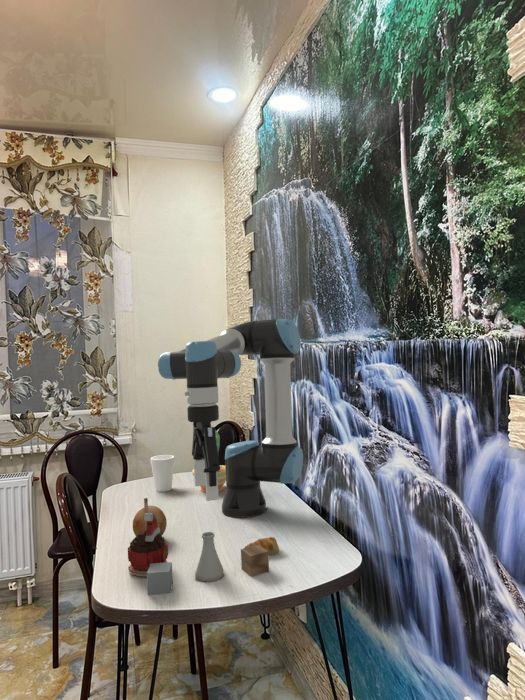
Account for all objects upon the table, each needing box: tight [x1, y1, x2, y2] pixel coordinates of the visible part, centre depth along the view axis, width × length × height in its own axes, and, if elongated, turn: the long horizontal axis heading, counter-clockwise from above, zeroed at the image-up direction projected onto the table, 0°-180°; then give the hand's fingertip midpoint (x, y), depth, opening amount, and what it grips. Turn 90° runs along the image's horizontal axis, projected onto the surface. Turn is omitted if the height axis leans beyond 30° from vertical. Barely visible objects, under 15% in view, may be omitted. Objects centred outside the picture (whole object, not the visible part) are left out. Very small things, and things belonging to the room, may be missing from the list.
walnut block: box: [240, 545, 270, 578], centre depth 117 cm, size 5×5×5 cm
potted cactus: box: [192, 425, 226, 493], centre depth 192 cm, size 15×15×25 cm
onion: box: [132, 505, 168, 537], centre depth 140 cm, size 10×10×10 cm
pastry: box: [244, 536, 280, 557], centre depth 128 cm, size 9×7×4 cm
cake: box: [127, 497, 169, 577], centre depth 120 cm, size 11×9×18 cm
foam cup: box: [150, 454, 175, 493], centre depth 194 cm, size 10×9×13 cm
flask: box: [194, 531, 225, 582], centre depth 116 cm, size 7×7×10 cm
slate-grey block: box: [146, 561, 174, 596], centre depth 110 cm, size 5×5×5 cm
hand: (206, 492), depth 116 cm, fingers open, 13 cm apart
